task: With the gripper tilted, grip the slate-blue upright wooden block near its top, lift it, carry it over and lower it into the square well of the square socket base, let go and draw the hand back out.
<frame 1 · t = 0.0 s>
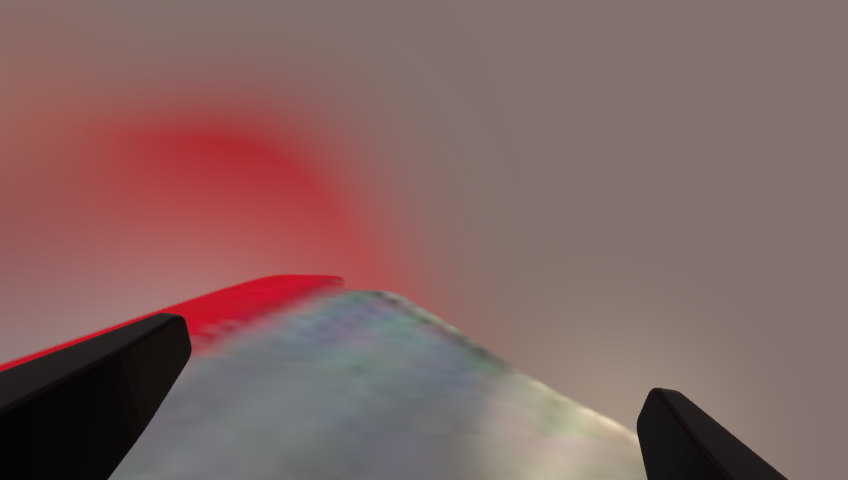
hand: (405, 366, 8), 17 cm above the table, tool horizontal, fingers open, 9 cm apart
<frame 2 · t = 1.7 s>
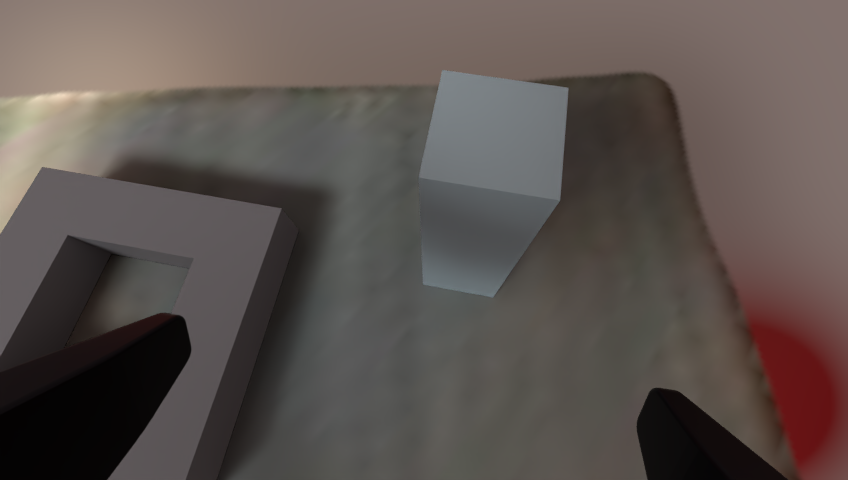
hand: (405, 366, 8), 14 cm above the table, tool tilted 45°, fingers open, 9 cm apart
square socket base: (139, 323, 22), on the table
slate block: (463, 258, 23), on the table
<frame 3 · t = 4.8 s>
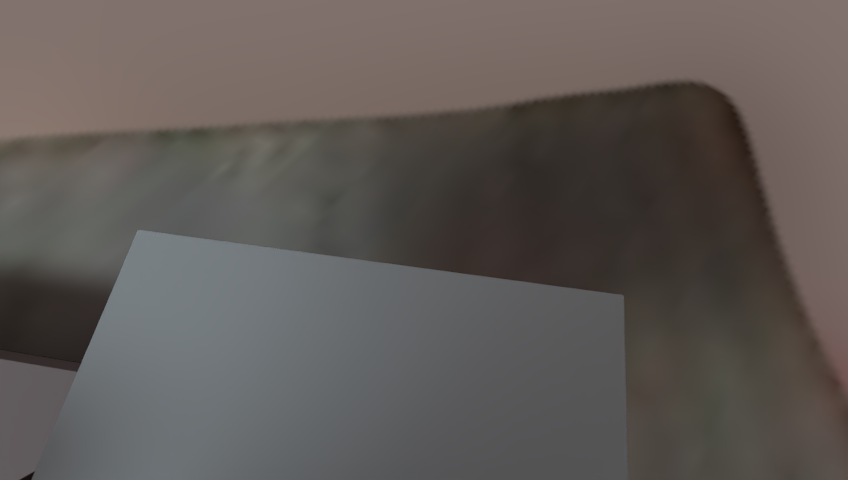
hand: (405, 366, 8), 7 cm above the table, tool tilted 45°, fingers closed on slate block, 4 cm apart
slate block: (415, 416, 14), on the table, touching gripper
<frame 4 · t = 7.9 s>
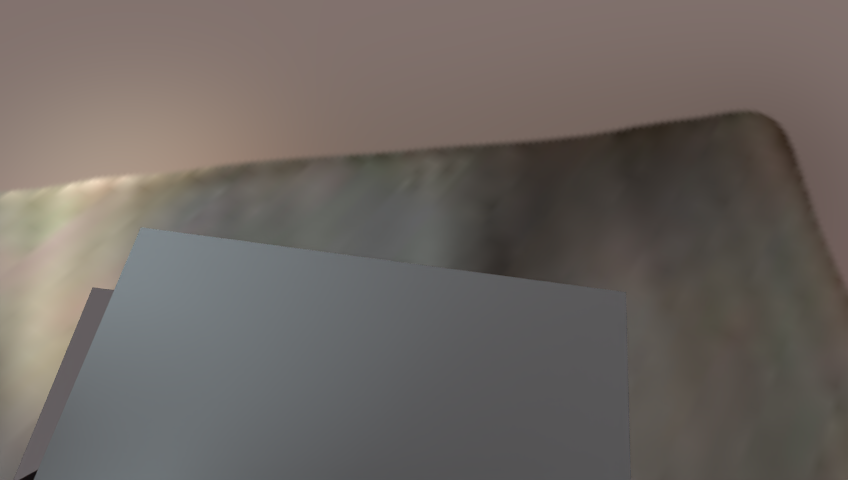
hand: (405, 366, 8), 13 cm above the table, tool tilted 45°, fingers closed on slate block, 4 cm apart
square socket base: (219, 458, 19), on the table
slate block: (415, 416, 14), point 6 cm above the table, touching gripper
when the fingers open (8 cm above the table, at t = 11.1 s): slate block drops 1 cm, resting in square socket base.
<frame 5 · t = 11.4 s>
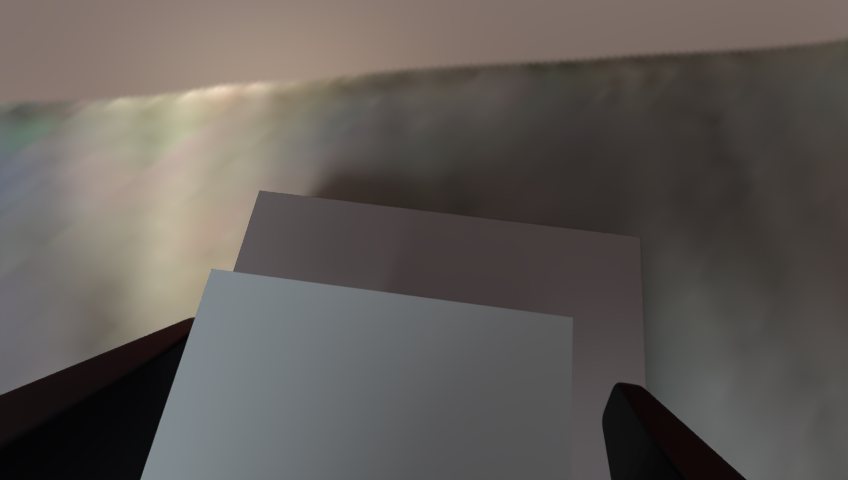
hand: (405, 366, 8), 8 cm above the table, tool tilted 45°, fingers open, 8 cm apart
square socket base: (416, 413, 15), on the table
slate block: (416, 413, 15), resting in square socket base
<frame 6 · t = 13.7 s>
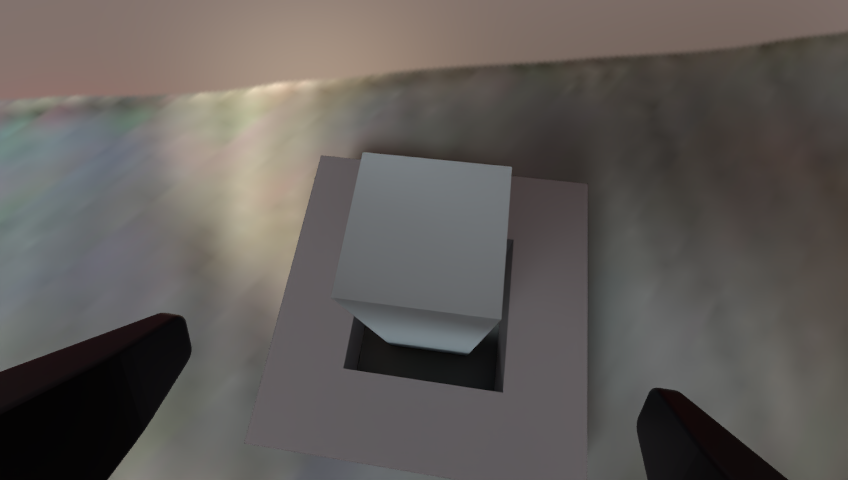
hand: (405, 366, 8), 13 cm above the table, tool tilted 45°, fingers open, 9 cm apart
square socket base: (433, 312, 21), on the table
slate block: (433, 311, 21), resting in square socket base
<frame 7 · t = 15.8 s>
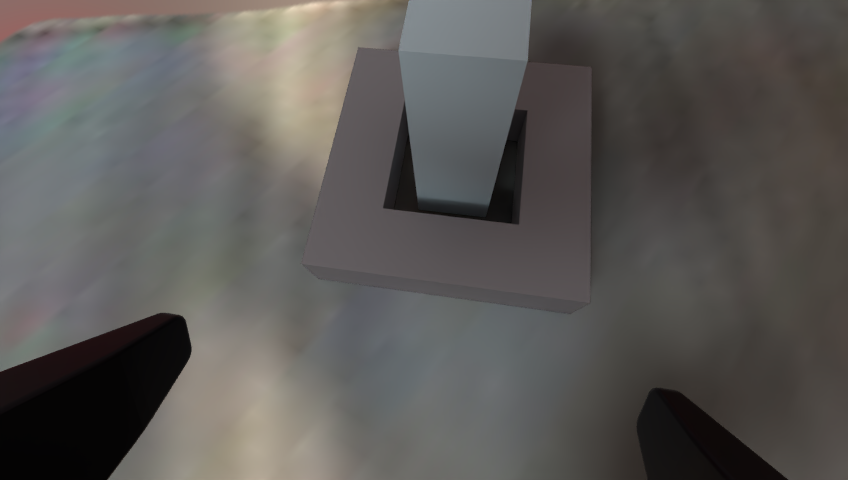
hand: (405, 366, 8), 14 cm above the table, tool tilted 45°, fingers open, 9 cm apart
square socket base: (456, 183, 24), on the table
slate block: (455, 183, 24), resting in square socket base
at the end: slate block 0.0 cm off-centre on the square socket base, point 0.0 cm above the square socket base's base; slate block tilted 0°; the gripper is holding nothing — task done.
